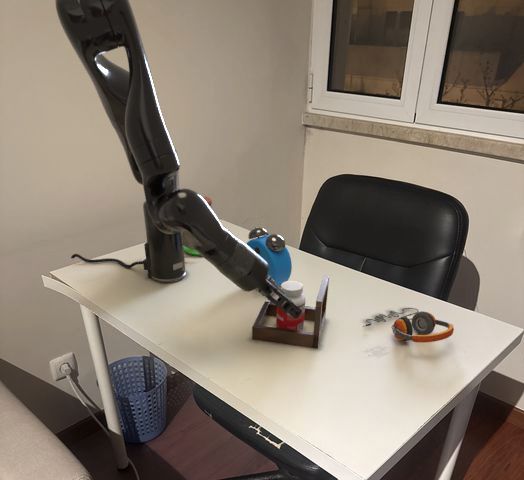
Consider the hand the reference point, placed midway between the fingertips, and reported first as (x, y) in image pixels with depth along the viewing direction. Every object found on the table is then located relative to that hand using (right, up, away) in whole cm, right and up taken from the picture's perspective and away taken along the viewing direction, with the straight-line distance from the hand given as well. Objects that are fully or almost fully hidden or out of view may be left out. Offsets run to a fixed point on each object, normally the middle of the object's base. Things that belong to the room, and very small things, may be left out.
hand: (290, 305), depth 109 cm
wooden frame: (0, -5, +4) cm, 6 cm away
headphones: (+26, -6, +3) cm, 27 cm away
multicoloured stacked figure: (-25, +21, +43) cm, 54 cm away
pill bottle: (0, -5, +4) cm, 6 cm away
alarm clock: (-5, +7, +22) cm, 23 cm away
